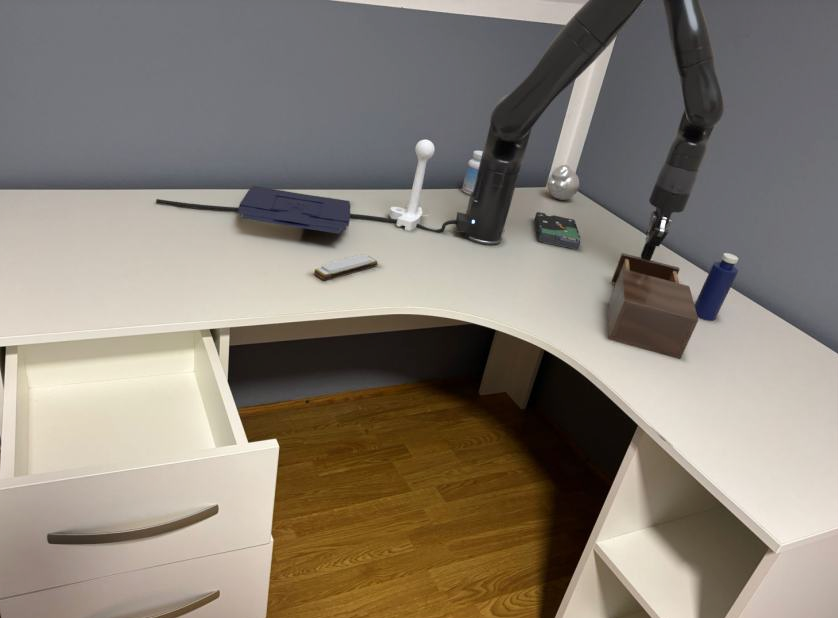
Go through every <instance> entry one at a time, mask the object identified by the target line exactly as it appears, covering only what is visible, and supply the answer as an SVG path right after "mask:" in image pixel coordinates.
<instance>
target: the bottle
mask: <svg viewBox="0 0 838 618" xmlns="http://www.w3.org/2000/svg"><path fill="white" fill-rule="evenodd" d="M738 261H739V256H736V255H734V254H732V253H729V252H724V253H723V254H722V256H721V260H720V261H714V262H713V263H712V265H711V268H710V270H709V271H708V275H707V277H706V279H705V281H704V283H703V285H702V286H701V287H702V288H701V290H700V292H699V294H698V296H697V298H696V300H695V302H694V305H695V309H696V313H697V316H698V319H702V320H705V321H711V322H712V321H715V320H716V319H717V317H718V314H719V312H720V310H721V308H722V307H723V304H724V302H725V300H726V298H727V296H728V294H729V291H730V289H731V287H732V286H733V284H734V281H735V279H736V277H737V276H738V273H739V269H738V268H736V267H735V265H736V264H737V263H738Z"/></svg>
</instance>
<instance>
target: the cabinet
mask: <svg viewBox="0 0 838 618" xmlns="http://www.w3.org/2000/svg"><path fill="white" fill-rule="evenodd" d="M615 284H616V286H614V289H613V291H612V294H611V296H610V299H609V301H608V304H607V315H608V317H607V318H608V319H607V320H608V340H611V341H614V342H616V343H617V342H618V343H621V344H625V345H628V346H632V347H637V348H639V349H642V350H647V351H651V352H653V353H657V354H658V353H659V354H661V355H665V356H668V357H673V358H676V359H678V360H679V359H680V360H681V359H682V357H683V354H684V352H685V350H686V348H687V347H688V343H689V341H690V340H691V337H692V335H693V333H694V331H695V329H696V327H697V324H698V322H699V317H698V316H697V313H696V309H695V302H694V298H693V295H692V291H691V287H690V286H689V285H686V284H682V283H680V282H679V283H675V282H671V281H668V280H664V279H660V278H656V277H652V276H648V275H644V274H641V273H637V272H633V271H629V270H625V269H622V270H621V273H620V275H619V278H618V280H617V283H615Z"/></svg>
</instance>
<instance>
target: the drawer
mask: <svg viewBox="0 0 838 618" xmlns="http://www.w3.org/2000/svg"><path fill="white" fill-rule="evenodd" d="M622 269H625V270H629V271H633V272H637V273H641V274H644V275H648V276H652V277H656V278H660V279H664V280H668V281H671V282H675V283H679V284H680V281H679V272H680V270H681V269H680V267H679V266H675V265H671V264H668V263H663V262H659V261H655V260H652V259H651V260H648V259H644V258H641V256H635V255H632V254H628V253H625V252H621V254H620V257H619V259H618V262H617V265H616V268H615V270H614V273H613V276H612V278H611V283H613V284H614V285H615V286H616V283H617V280H618V278H619V275H620V273H621V270H622ZM615 286H614V287H615Z"/></svg>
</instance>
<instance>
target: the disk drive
mask: <svg viewBox="0 0 838 618" xmlns="http://www.w3.org/2000/svg"><path fill="white" fill-rule="evenodd" d="M534 216H535V217H534V219H533V221H534V227H535V231H536V238H537V241H538V242H541V243H545V244H550V245H555V246H559V247H565V248H568V249H574V250H579V248H580V245H581V234H580V232H579V228H578V226H577V222H576V220H575V219H573V218H568V217H563V216H559V215H547V214H546V213H544V212H541V211H536V213H535V215H534Z"/></svg>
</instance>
